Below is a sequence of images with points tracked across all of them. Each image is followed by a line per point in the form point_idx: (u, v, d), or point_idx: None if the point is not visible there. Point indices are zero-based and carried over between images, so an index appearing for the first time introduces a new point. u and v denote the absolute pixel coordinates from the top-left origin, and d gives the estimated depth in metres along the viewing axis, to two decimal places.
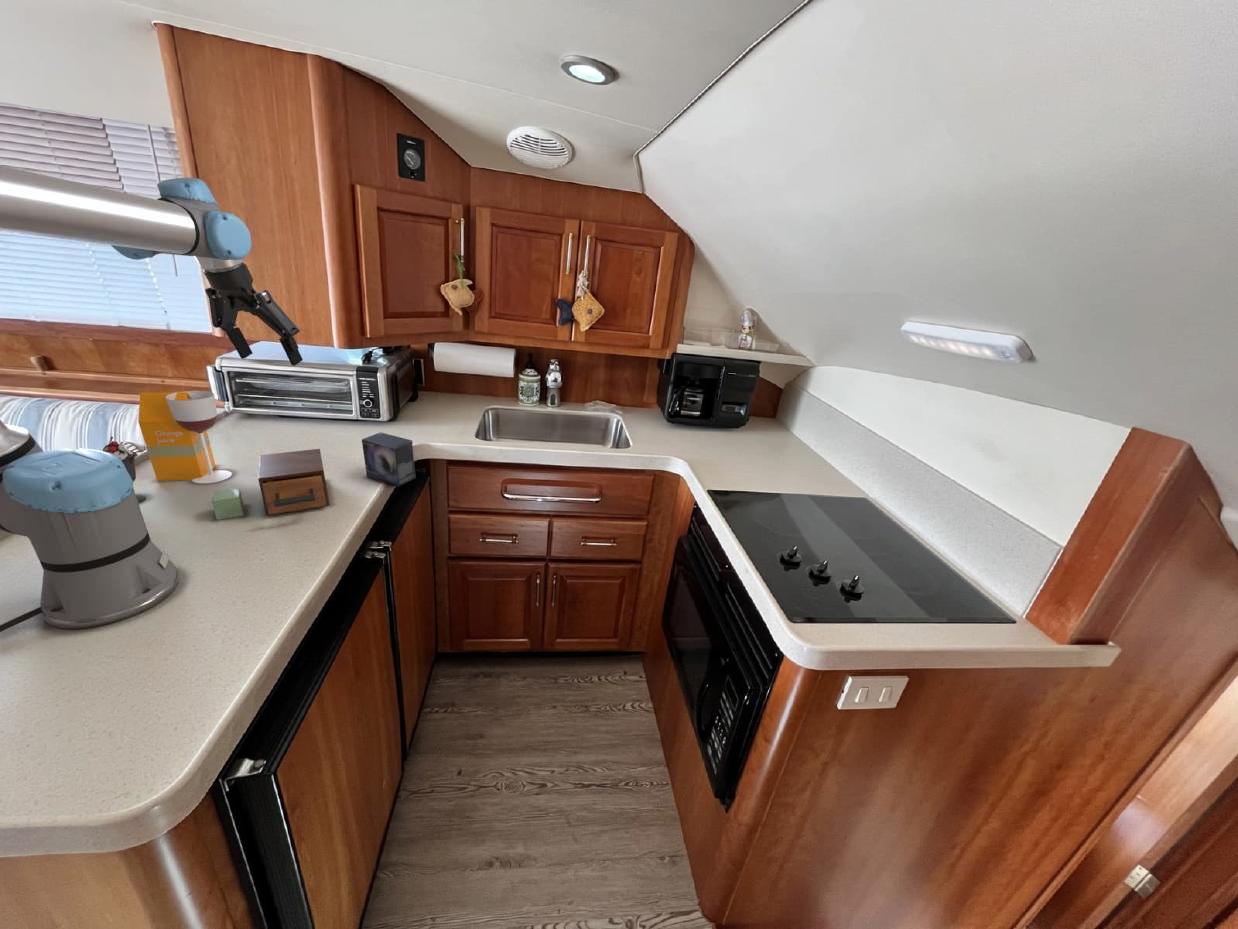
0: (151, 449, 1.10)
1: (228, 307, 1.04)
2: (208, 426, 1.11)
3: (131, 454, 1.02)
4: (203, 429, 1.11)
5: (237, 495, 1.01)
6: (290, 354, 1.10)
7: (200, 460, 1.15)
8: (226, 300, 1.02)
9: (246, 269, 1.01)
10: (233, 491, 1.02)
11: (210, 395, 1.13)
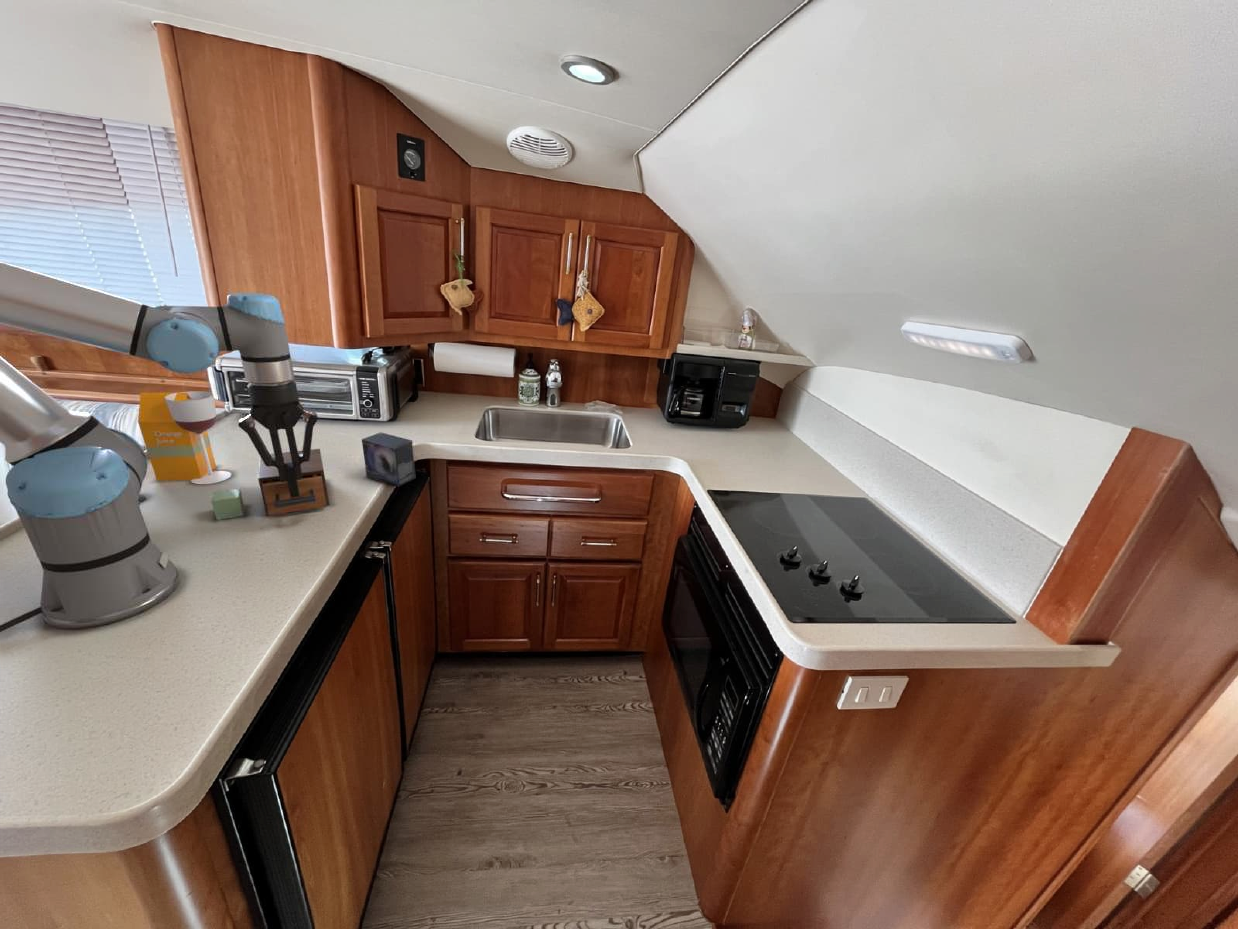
0: (151, 449, 1.10)
1: (274, 428, 0.93)
2: (207, 427, 1.11)
3: None
4: (202, 430, 1.10)
5: (237, 495, 1.01)
6: (296, 483, 0.99)
7: (199, 461, 1.15)
8: (269, 419, 0.92)
9: None
10: (233, 491, 1.02)
11: (209, 396, 1.13)
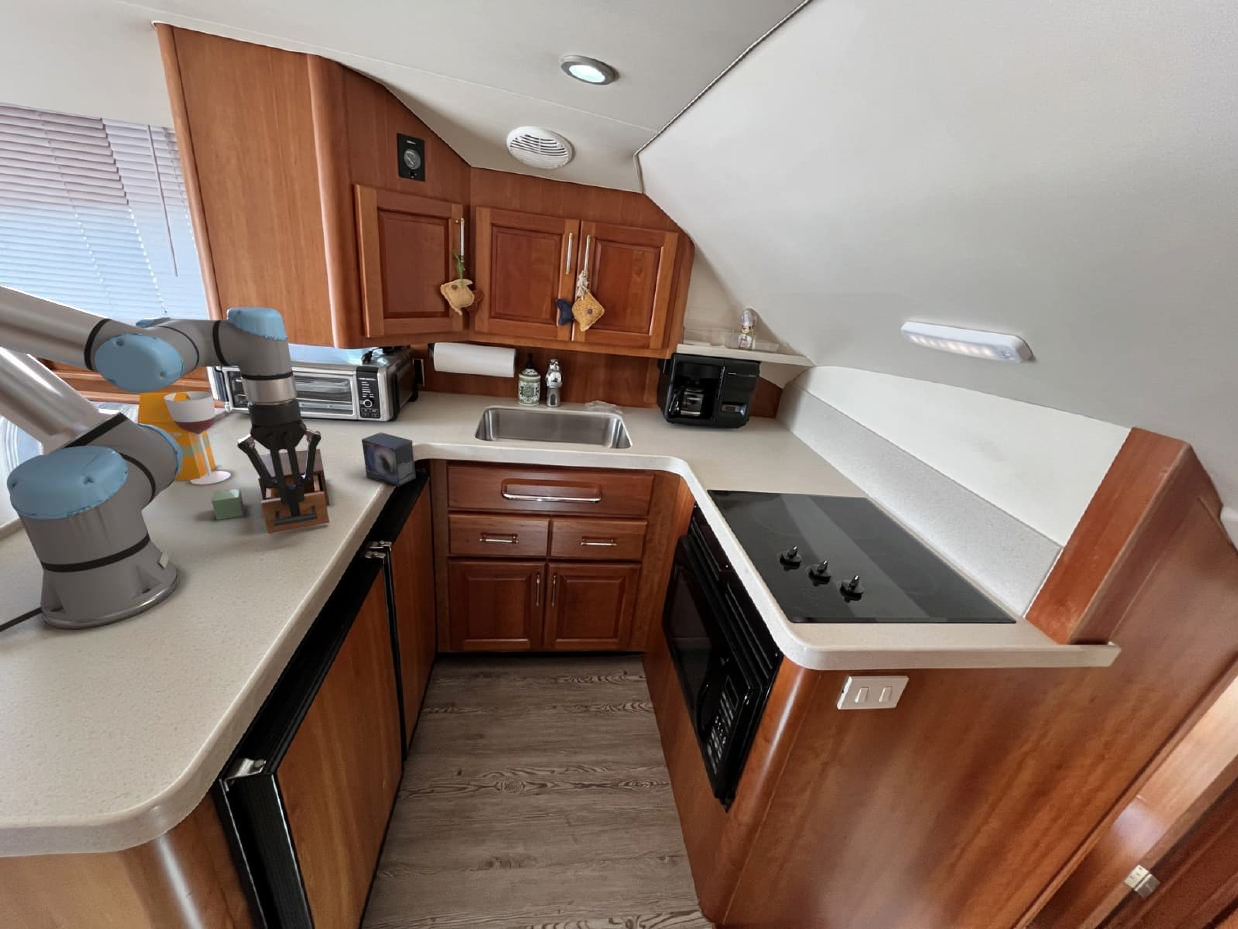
0: None
1: (276, 448, 0.88)
2: (206, 427, 1.10)
3: None
4: (201, 430, 1.10)
5: (237, 495, 1.01)
6: (298, 506, 0.94)
7: (199, 461, 1.15)
8: (270, 439, 0.87)
9: None
10: (233, 491, 1.02)
11: (209, 396, 1.13)
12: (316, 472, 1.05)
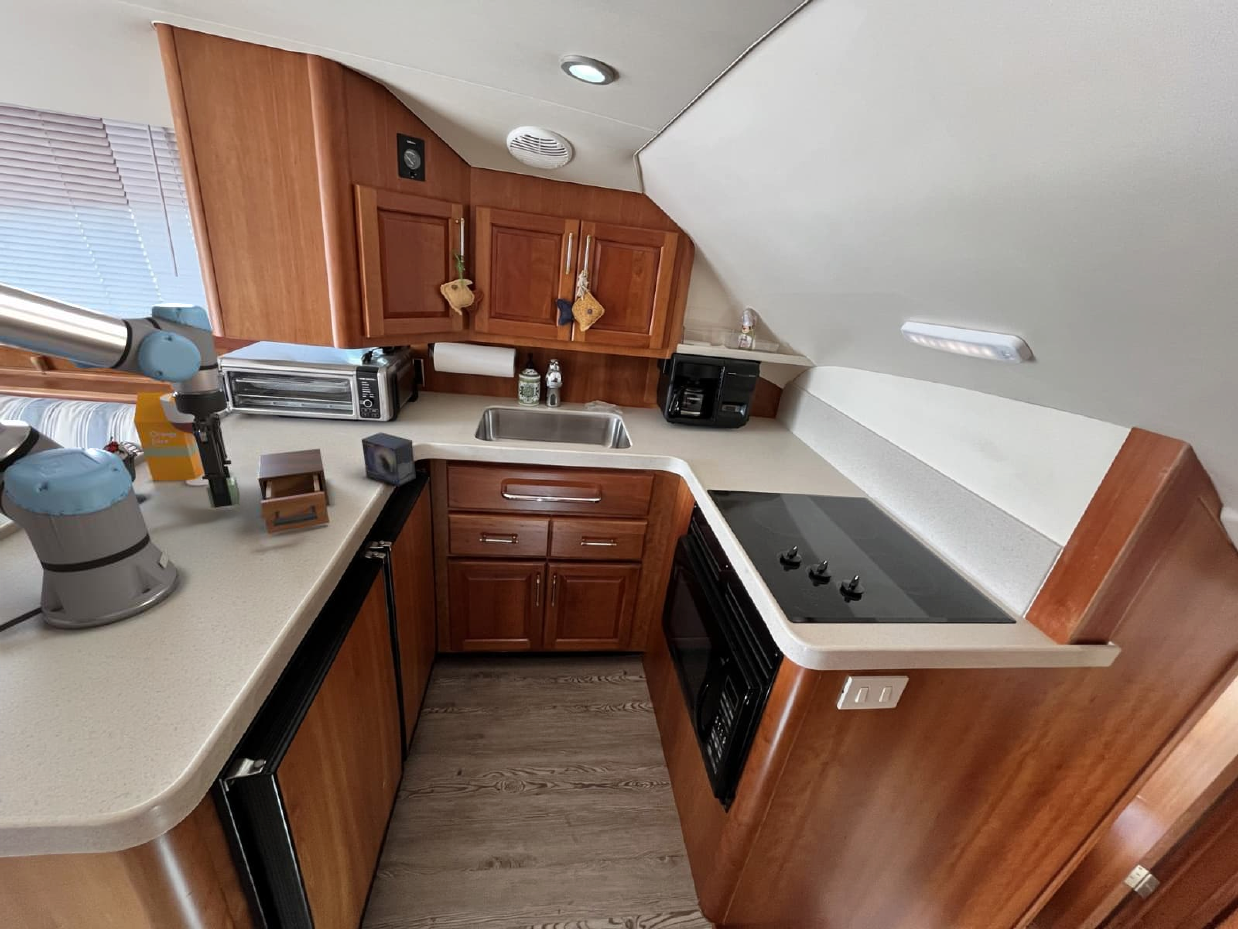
0: (146, 449, 1.10)
1: None
2: None
3: (131, 454, 1.02)
4: None
5: (232, 483, 1.00)
6: (214, 495, 0.97)
7: (195, 461, 1.14)
8: (194, 422, 0.95)
9: (208, 399, 0.91)
10: (229, 479, 1.01)
11: None
12: (316, 472, 1.05)
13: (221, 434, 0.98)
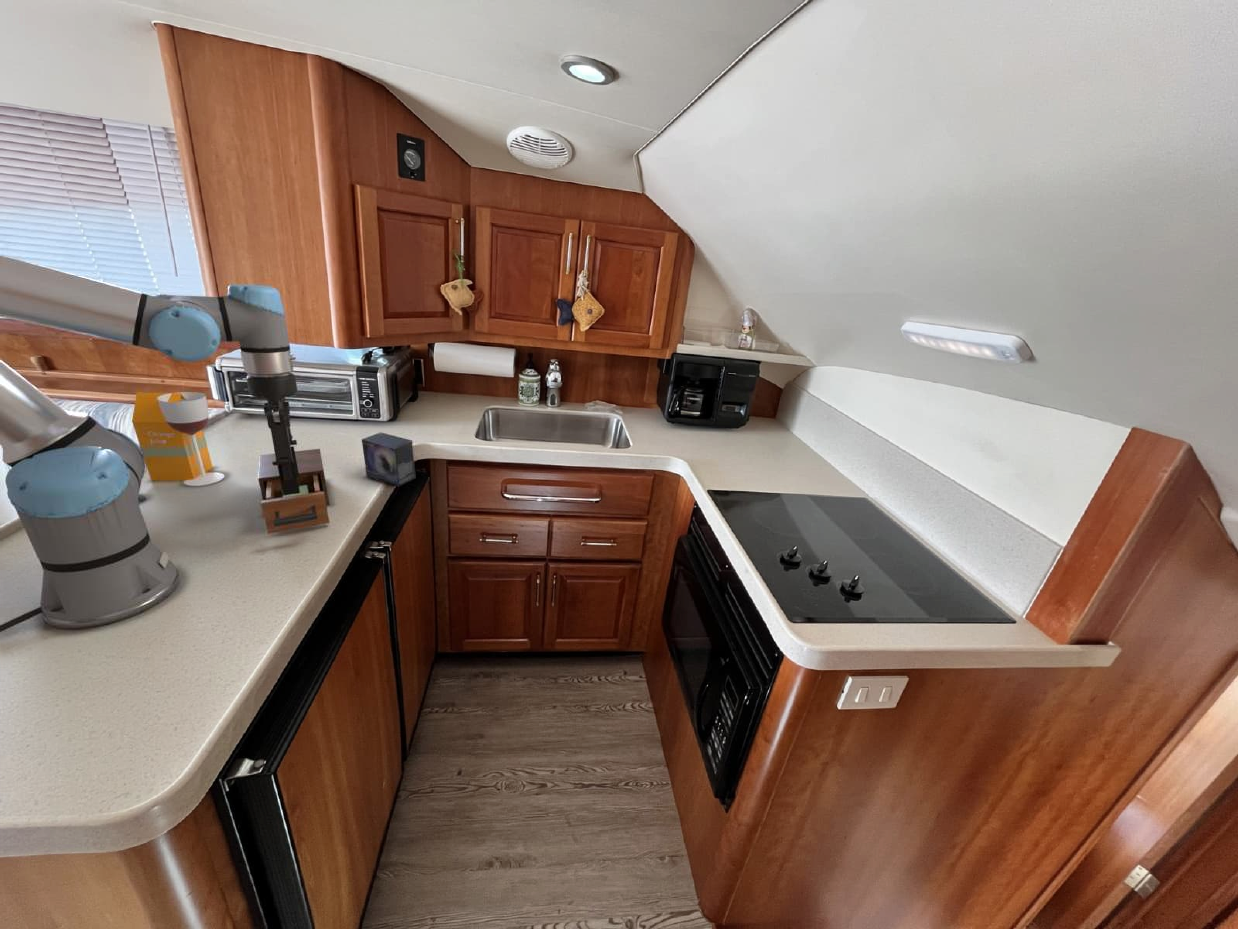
0: (145, 449, 1.10)
1: None
2: (198, 428, 1.09)
3: None
4: (193, 431, 1.09)
5: (306, 491, 1.01)
6: (283, 482, 0.94)
7: (192, 462, 1.14)
8: None
9: (281, 381, 0.89)
10: (301, 488, 1.02)
11: (203, 397, 1.12)
12: (316, 472, 1.05)
13: None
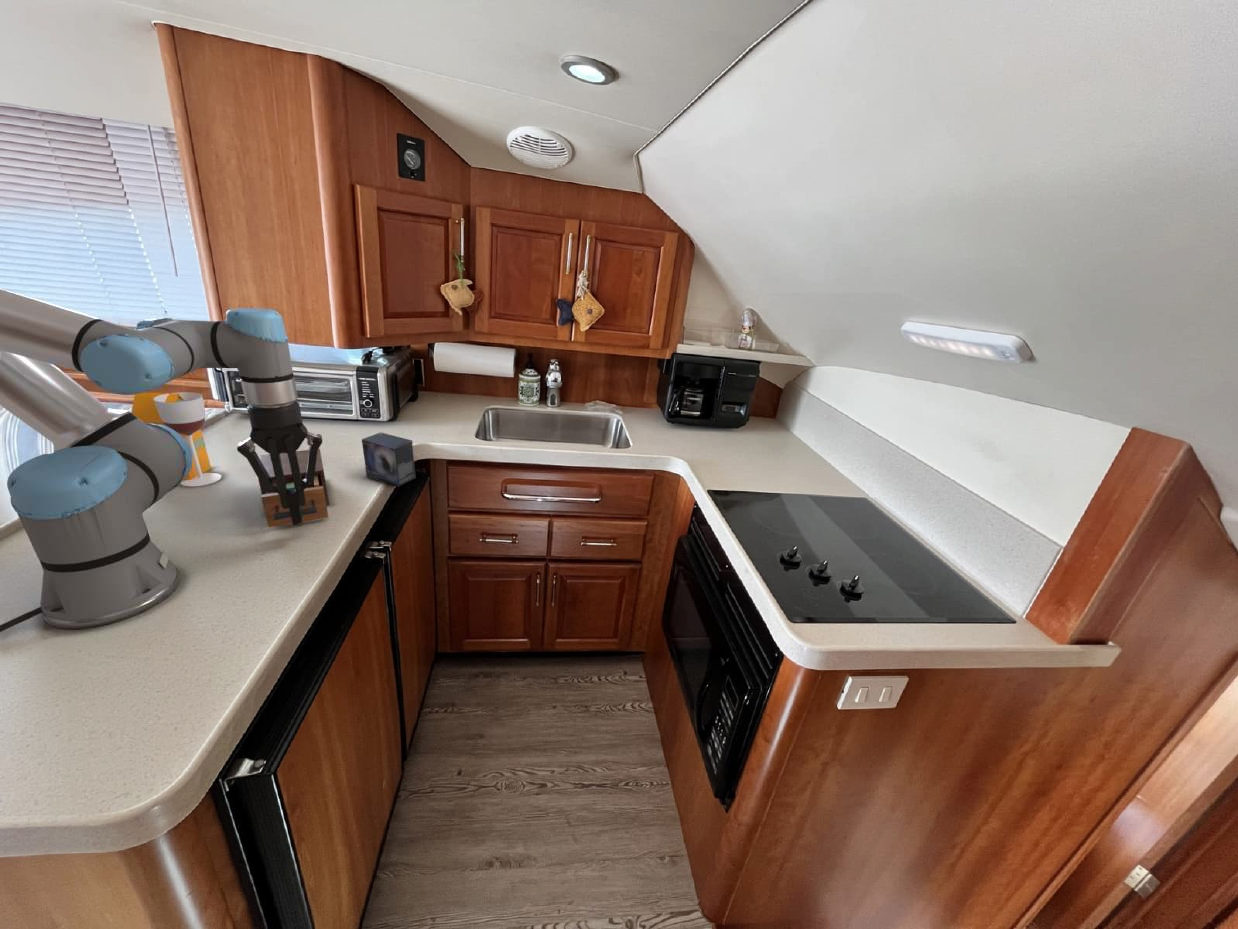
0: None
1: (276, 452, 0.86)
2: (194, 429, 1.09)
3: None
4: (189, 432, 1.09)
5: None
6: (299, 510, 0.92)
7: None
8: (270, 443, 0.85)
9: None
10: None
11: (200, 397, 1.11)
12: (316, 472, 1.05)
13: None
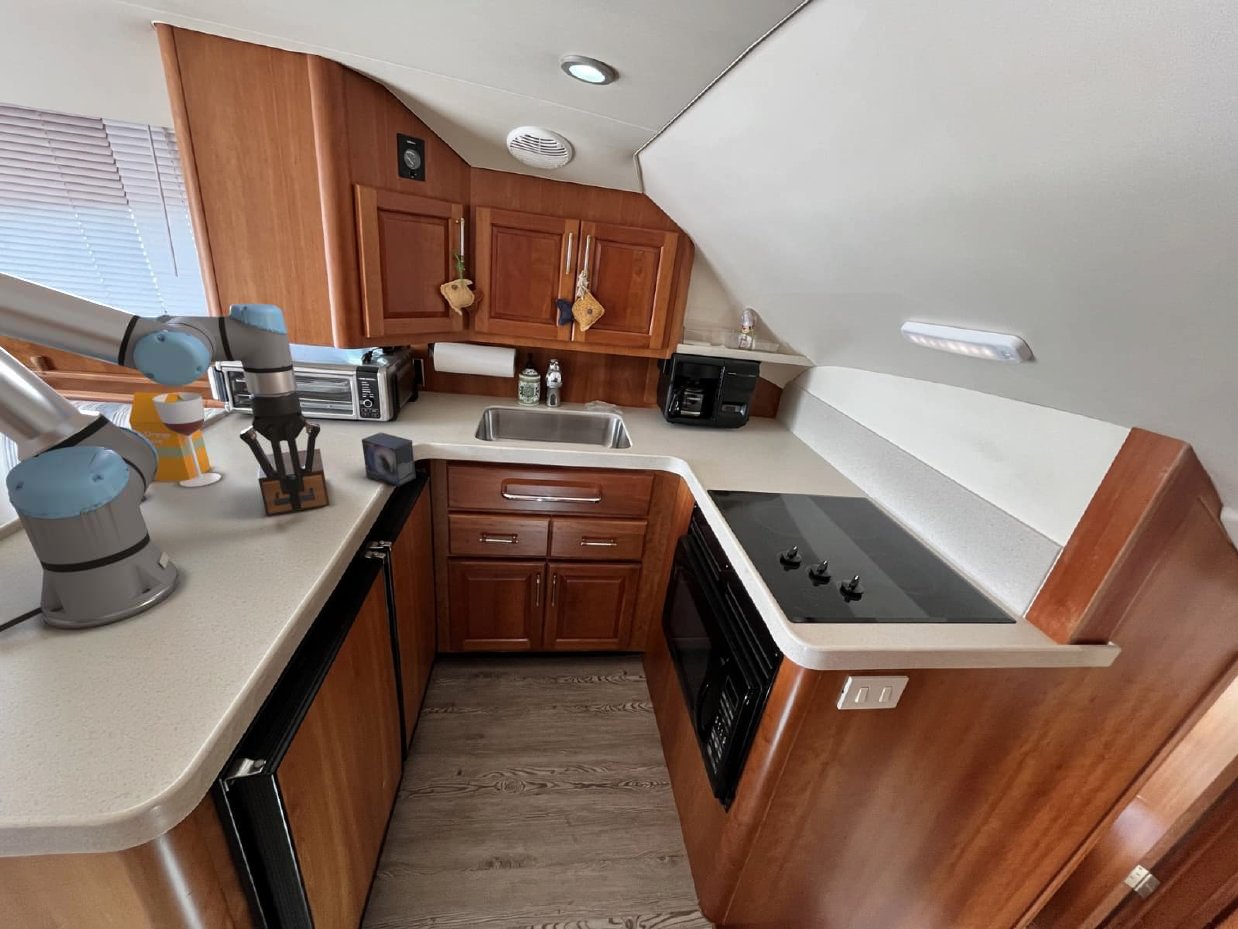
0: None
1: (276, 439, 0.91)
2: (193, 429, 1.09)
3: None
4: (188, 432, 1.09)
5: None
6: (299, 496, 0.97)
7: (189, 462, 1.13)
8: (271, 431, 0.90)
9: None
10: None
11: (200, 397, 1.11)
12: (316, 472, 1.05)
13: None
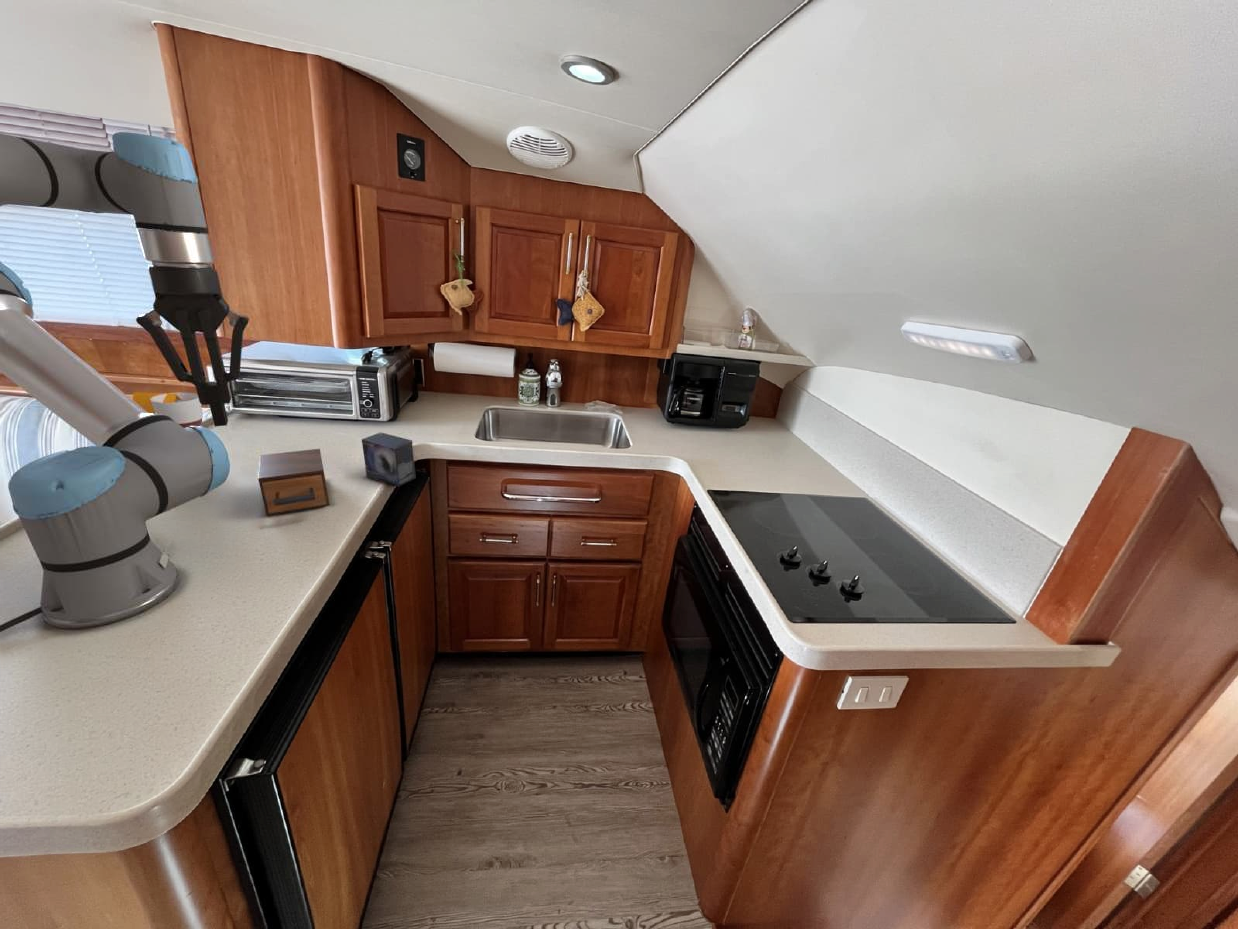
0: None
1: (188, 328, 0.71)
2: None
3: None
4: None
5: None
6: (223, 408, 0.77)
7: None
8: (179, 315, 0.70)
9: None
10: None
11: (198, 398, 1.11)
12: (316, 472, 1.05)
13: (194, 331, 0.74)
